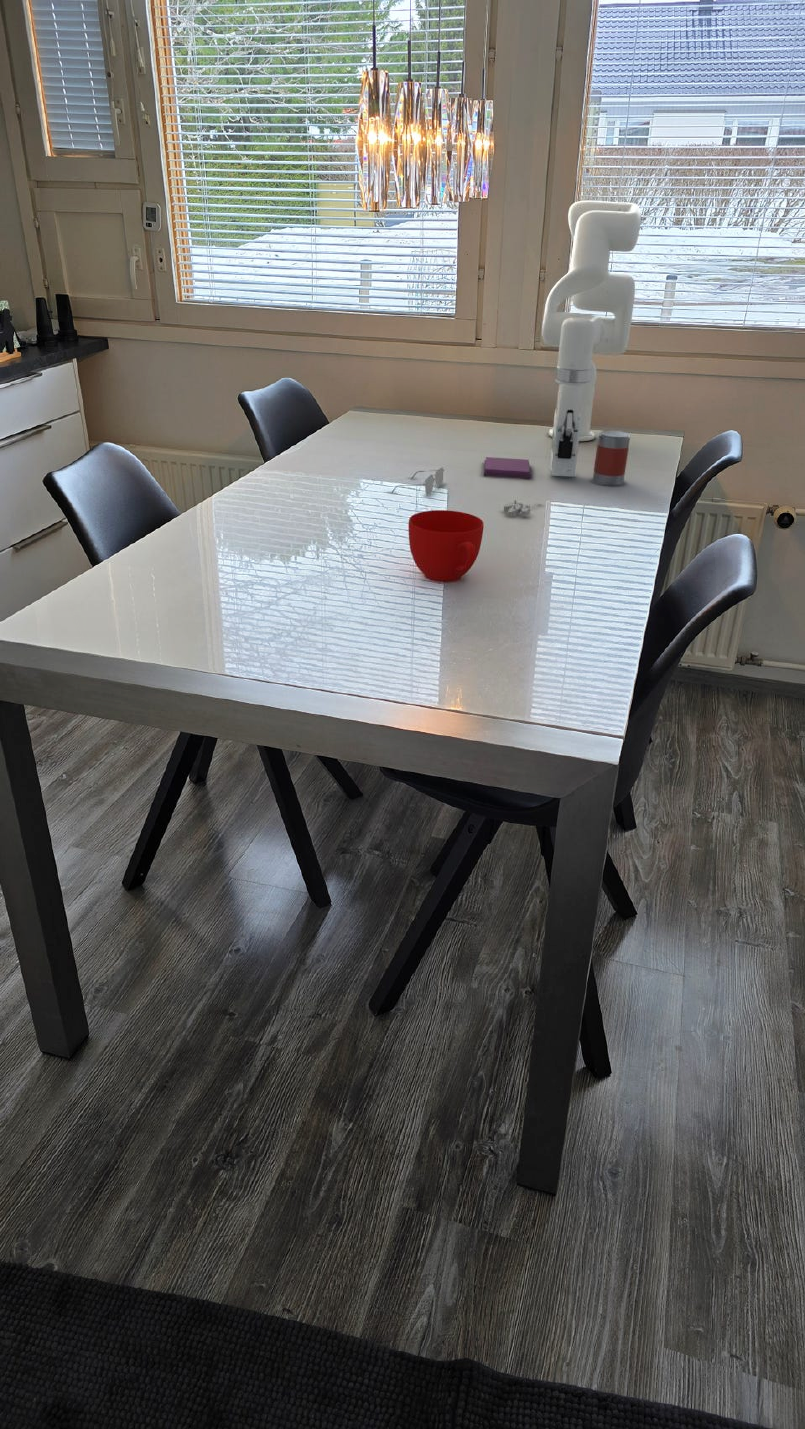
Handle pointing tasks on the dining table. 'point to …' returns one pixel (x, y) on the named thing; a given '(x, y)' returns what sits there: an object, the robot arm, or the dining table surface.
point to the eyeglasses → (430, 481)
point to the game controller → (517, 508)
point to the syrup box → (557, 464)
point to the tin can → (611, 458)
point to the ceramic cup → (444, 543)
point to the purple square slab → (507, 467)
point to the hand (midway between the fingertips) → (563, 454)
